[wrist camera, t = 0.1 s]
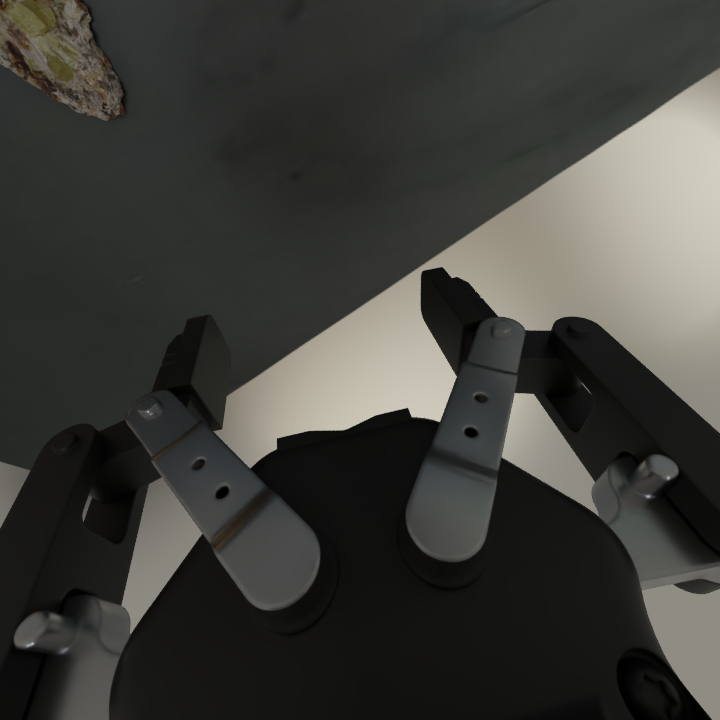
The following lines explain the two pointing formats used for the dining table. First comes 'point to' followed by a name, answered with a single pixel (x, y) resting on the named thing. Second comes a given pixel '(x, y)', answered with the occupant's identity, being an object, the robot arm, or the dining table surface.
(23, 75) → the mineral rock
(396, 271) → the dining table surface
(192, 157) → the dining table surface
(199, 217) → the dining table surface
